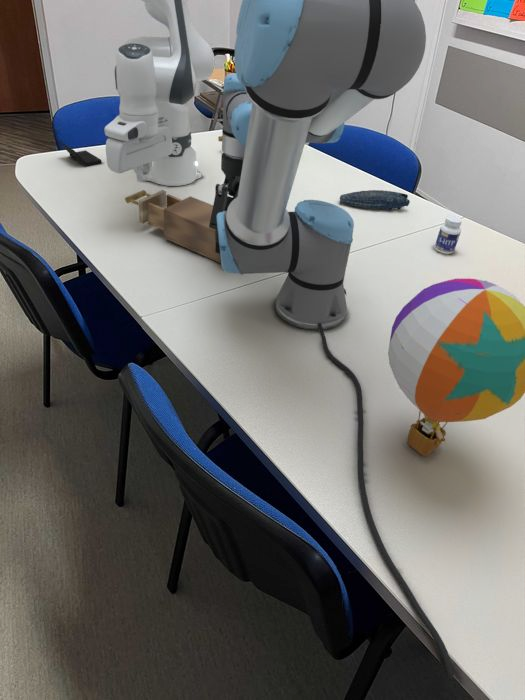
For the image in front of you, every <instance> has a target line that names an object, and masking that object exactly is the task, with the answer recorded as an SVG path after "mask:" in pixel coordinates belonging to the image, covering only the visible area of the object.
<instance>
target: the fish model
mask: <svg viewBox="0 0 525 700" xmlns="http://www.w3.org/2000/svg"><path fill="white" fill-rule="evenodd" d="M410 202H411V201H410V200H409V195H408V194H406V193H403V192H402V193H401V192H399V191H392V190H382V189H380V190H379V189H377V190H376V189H368V190H360V191H352V192H348V193H344V194H341V195H340V196H339V203H343V204H346V205H349V206H351V207H357V208H362V209H371V210H372V209H374V210H384V211H385V210H386V211H391V210H394V209H397V210H402V208H404V207H408V206H409V205H410Z"/></svg>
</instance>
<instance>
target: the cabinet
mask: <svg viewBox="0 0 525 700" xmlns="http://www.w3.org/2000/svg"><path fill="white" fill-rule="evenodd" d="M181 200H182V201H180V202H177V203H175V204H173V205H171V206H169V207H166V208H165V209H164V230H163V239H165V240H167V241H170V242H171V243H174V244H176V245H179V246H181V247H182V248H185V249H188V250H190V251H192V252H195V253H197V254H198V255H201V256H203V257H205V258H208V259H210V260H212V261H215V262H217V263H219V264H221V256H220V254H219V253H216V252H215V248H216V241H215V230H214V229H212V228H209V224H210V219H211V214H212V209H213V204H210V203H208V202H206V201H203V200H202V199H199V198H195V197H193V196H190V195H189V196H188V197H186V198H183V199H181Z"/></svg>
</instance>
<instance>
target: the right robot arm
mask: <svg viewBox="0 0 525 700" xmlns="http://www.w3.org/2000/svg"><path fill="white" fill-rule="evenodd" d="M237 17H238V19H237V23H236V32H235V33H236V37H235V44H234V70H235V73H230V74H229V73H228V74H227V75H226V76H225V77H224V79H223V90H222V95H223V96H222V131H221V132H222V133H221V136H222V141H221V152H222V153H221V155H220V157H221V158H220V159H221V160H220V170H221V171H222V173H223V174H224V180H223V183H221V184H220V183H216V184H215V187H214V188H215V190H214V191H215V192H214V193H215V194H214V199H213V204H212V205H213V209H212V214H211V219H210V224H209V228H212V229H214V230H215V241H216V248H215V252H216V253H219V254H220V256H221V263H220V265H221V269H222V270H223V271H224V272H225V273H226V274H238V275H250V274H252V275H253V274H275V273H277V274H278V273H287V275H286V278H285V279H284V282H283V283H282V285H281V287H280V290H279V291H278V294H277V296H276V300H275V311H276V313H277V315H278V316H279V317H280V318H281V319H282V320H283V321H284V322H286V323H287V324H289V325H291V326H293V327H296V328H300V329H304V330H310V331H318V332H319V335H320V337H321V342H322V347H323V350H324V352H325V354H326V355H327V357H328V358H329V360H331V361H332V362H333V363H334V364H335V365H336V366H338V367H339V368H340V369H342V370H343V371H344V372H345V373H346V374H347V375H348V376H349V377H350V378H351V380H352V382H353V383H354V386H355V389H356V393H357V395H356V396H357V414H358V415H357V417H358V427H357V428H358V429H357V430H358V431H357V474H358V475H357V479H358V486H359V492H360V498H361V503H362V508H363V510H364V514H365V518H366V521H367V525H368V526H369V529H370V532H371V535H372V537H373V539H374V541H375V544H376V546H377V548H378V550H379V553H380V554H381V556H382V558H383V560H384V562H385V564H386V566H387V567H388V569H389V571H390V573H392V575H393V577H394V579H395V580H396V582H397V583H398V584H399V586H400V588H401V590H402V591H403V592H404V595H405V596H406V597H407V600H408V601H409V603H410V606H411V607H412V608H413V610H414V612H415V613H416V615H417V616H418V617H419V619H420V621H421V622H422V624H423V625H424V627H425V629H427V631H428V632H429V634H430V636H431V638H432V639H433V641H434V643H435V645H436V646H437V648H438V651H439V654H440V656H441V658H442V662H443V666H444V670H445V671H444V673H445V675H446V677H447V678H448V679H450V680H452V679H453V678H454V671H453V664H452V662H451V658H450V654H449V652H448V649H447V647H446V645H445V643H444V641H443V639H442V637H441V635H440V633H439V632H438V630H437V629H436V627H435V626H434V625H433V624H432V622H431V620H430V619H429V617H428V616H427V615H426V613H425V612H424V610H423V609H422V607H421V605H420V604H419V602H418V600H417V599H416V597H415V595H414V594H413V592H412V590H411V589H410V587H409V585H408V584H407V581H406V580H405V579H404V578H403V576H402V575H401V573H400V571H399V569H398V568H397V566H396V565H395V563H394V562H393V559H392V558H391V557H390V554H389V553H388V550H387V549H386V547H385V545H384V543H383V541H382V539H381V536H380V534H379V530H378V529H377V527H376V524H375V521H374V518H373V515H372V511H371V507H370V504H369V499H368V494H367V489H366V484H365V483H366V482H365V474H364V423H365V422H364V421H365V420H364V403H363V391H362V387H361V384H360V381H359V379H358V378H357V376H356V375H355V373H354V372H353V371H352V370H351V369H350V368H349V367H348V366H346V365H345V364H344V363H343V362H342V361H340V360H339V359H338V358H336V357H335V356H334V354H332V352H331V351H330V349H329V346H328V343H327V337H326V334H325V332H324V330H325V331H326V330H329V329H333V328H336V327H337V326H339V325H340V324H342V323H343V322H344V320H345V318H346V315H347V310H348V309H347V308H348V307H347V306H348V305H347V297H346V296H348V295H347V289H345V286H344V280H345V275H346V271H347V267H348V261H349V257H350V253H351V252H350V251H351V247H352V244H353V241H354V239H353V236H354V235H353V234H354V228H355V221H354V219H353V217H352V216H351V214H350V213H349V212H348V211H346V210H345V209H343V208H342V207H341V206H338V205H336V204H333V203H331V202H328V201H323V200H319V199H303V200H301V201H299V202H297V204H296V206H295V207H294V211H288V209H287V206H288V203H289V199H290V196H291V193H292V189H293V185H294V182H295V179H296V176H297V175H296V174H297V172H298V168H299V166H300V161H301V159H302V155H303V152H304V149H305V145H306V144H307V143H308V144H319V145H323V144H333V143H337V142H338V141H339V140H340V139H341V137H342V135H343V133H344V129H345V123H346V122H347V121H348V120H349V119H351V118H352V117H353V116H355V115H356V114H357V113H359V111H361V110H362V109H364V108H365V107H366V106H368V105H369V104H370V103H372V102H373V101H374V100H384V99H388V98H389V97H391V96H393V95H395V94H397V92H398V91H401V90H402V89H403V88H404V87H405V86H406V85H407V84H408V83H409V82H410V81H412V80H413V78H414V77H415V75H416V73H417V72H418V70H419V68H420V66H421V64H422V61H423V59H424V56H425V51H426V43H427V33H426V32H427V31H426V25H425V21H424V18H423V14H422V12H421V9H420V8H419V5H418V4H417V2H416V1H415V0H241V4H240V8H239V13H238V16H237Z"/></svg>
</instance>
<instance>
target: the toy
mask: <svg viewBox="0 0 525 700" xmlns="http://www.w3.org/2000/svg"><path fill="white" fill-rule="evenodd" d="M387 355H388V365H389V367H390V369H391V372H392V375H393V377H394V379H395V381H396V383H397V385H398V388H399V389H400V391H401V392H402V393H403V394H404V396H405V397H406V398H407V399H408V400H409V401H410V403H412V405H413V406H415V407H416V408H417V409H418V410H419V411H418V418H417V420H416V423H411V424H410V429H409V431H408V434H407V439H406V443H407V445H408V446H409V447H410V448H412V449H413V450H414V451H416V452H417V453H418V454H420V455H421V456H422V457H424V458H426V457H428V456H429V455H430V454H431V453H433V452H434V451H435V450H437V449H438V448H439V447H440V446H441V444H442V443H443V442H445V441H446V434H447V432H446V430H445V427H446V425H447V424H448V423H461V422H472V421H479V420H486V419H488V418H489V417H492V416H494V415H496V414H498V413H501V412H503V411H505V410H508V409H509V408H511V407H513V406H514V405H515V404H516V403H518V402H519V401H520V400H521V399H522V397H523V396H524V395H525V305H524V304H523V303H522V301H521V300H520V299H519V298H518V297H517V296H516V295H515V294H513V293H511V292H510V291H508V290H507V289H505V288H503V287H502V286H500V285H498V284H495V283H492V282H491V281H487V280H482V279H477V278H452V279H448V280H445V281H441V282H437V283H435V284H431V285H429V286H428V287H426V288H423V289H421V291H420V292H419V293H417V294H416V295H415V296H414V297H413V298H411V300H409V302H407V303H406V304H405V305H404V306H403V307H402V309H401V310H400V311H399V313H398V314H397V315H396V317H395V319H394V321H393V324H392V326H391V333H390V337H389V344H388V351H387ZM421 414H423V418H422V419H420V418H421ZM440 423H444V425H443V426H442V427H441V424H440Z"/></svg>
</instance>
